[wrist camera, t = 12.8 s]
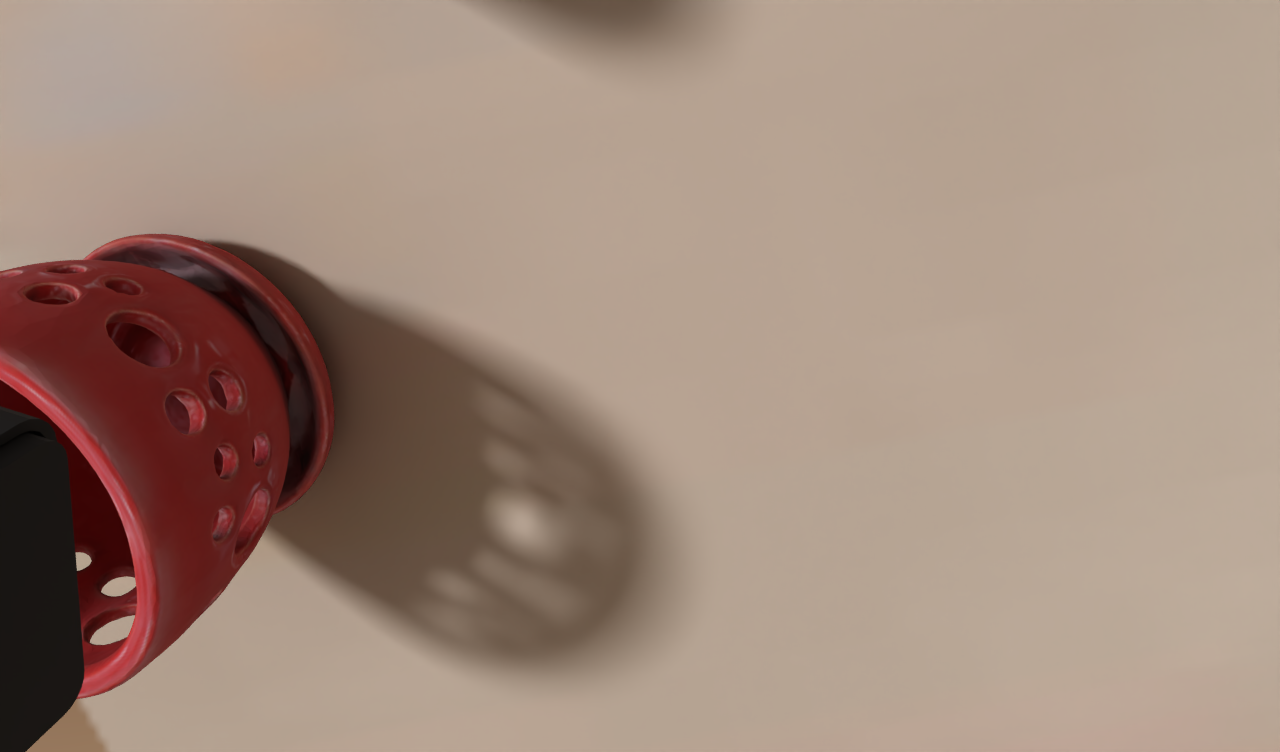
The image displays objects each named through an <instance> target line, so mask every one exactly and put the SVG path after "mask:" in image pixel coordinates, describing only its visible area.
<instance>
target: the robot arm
mask: <svg viewBox="0 0 1280 752" xmlns="http://www.w3.org/2000/svg"><path fill="white" fill-rule="evenodd" d="M84 672H85V668H84V656H83V643H82V631H81V618H80V605H79V593H78V580H77V568H76V555H75V542H74V530H73V517H72V504H71V492H70V479H69V467H68V457H67V453H66V450H65V448H64V447H63V446H62V444H60V443H58V442H57V438H56V434H55V431H54V430H53V428H52V427H51V425H50V424H49V423H48V422H46V421H44V420H42V419H39V418H36V417H33V416H30V415H26V414H23V413H20V412H17V411H14V410H11V409H7V408H4V407H1V406H0V752H25V751H27V750H28V749H29V748H30V747H31V746H32V745H33V744H34V743H35V742H36V741H37V740H38V739H39V738H40V737H41V736H42V735H44V733H46V731H48V730H49V729H50V728H51V727H52V726H53V725H54V724H55V723H56V722H57V721H58V720H59V719H60V718H61V717H62V716H63V715H65V713H66V712H67V711H68V710H69V709H70V708H71V706H72V705H73V703H74V702H75V700H76V699H77V697H78V695H79V692H80V690H81V688H82V684H83V681H84Z"/></svg>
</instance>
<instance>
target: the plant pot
mask: <svg viewBox="0 0 1280 752" xmlns="http://www.w3.org/2000/svg"><path fill="white" fill-rule="evenodd" d="M0 406H1V407H4V408H7V409H11V410H14V411H17V412H20V413H23V414H26V415H30V416H33V417H36V418H39V419H42V420H44V421H46V422H48V423H49V424H50V425H51V427H52V428H53V430H54V431H55V434H56V438H57V442H58V443H60V444H62V446H63V447H64V448H65V450H66V453H67V457H68V467H69V479H70V492H71V504H72V517H73V530H74V542H75V552H83V553H86V554H87V555H89V556H90V558H91V560H92V562H91V564H90V565H89V566H88V567H86V568H85V569H83V570H80V571H77V580H78V593H79V605H80V618H81V631H82V643H83V656H84V668H85V672H84V681H83V684H82V688H81V690H80V692H79V695H78V697H77V699H80V698H87V697H91V696H95V695H99V694H102V693H105V692H107V691H110V690H112V689H114V688H115V687H117V686H120V685H122V684H123V683H125V682H126V681H128V680H129V679H131V678H132V677H133V676H135V675H136V674H137V673H138V672H140V671H141V670H142V669H143V668H144V667H146V666H147V665H148V664H149V663H150V662H152V661H153V660H154V659H155V658H156V657H158V656H159V655H160V654H161V653H162V652H164V651H165V650H166V649H167V648H168V647H169V646H170V645H171V644H172V643H174V642H175V641H176V640H177V639H178V638H179V637H180V636H181V635H182V634H183V633H184V632H185V631H186V630H187V629H188V628H189V627H190V626H191V625H192V623H193V622H194V621H195V620H196V619H197V618H198V617H199V616H200V615H201V614H202V613H203V612H204V611H205V610H206V609H207V608H208V607H209V606H210V605H211V604H212V603H213V602H214V601H215V600H216V599H217V598H218V597H219V596H220V595H221V593H222V592H223V591H224V590H225V588H226V587H227V586H228V584H229V583H230V581H231V580H232V578H233V577H234V576H235V574H236V573H237V572H238V570H239V569H240V568H241V566H242V565H243V564H244V562H245V561H246V560H247V559H248V557H249V556H250V554H251V553H252V551H253V550H254V548H255V547H256V545H257V543H258V542H259V540H260V538H261V536H262V534H263V533H264V531H265V529H266V527H267V525H268V523H269V521H270V519H271V517H272V515H273V514H276V513H278V512H280V511H282V510H284V509H286V508H287V507H289V506H290V505H292V504H293V503H294V502H296V501H297V500H298V499H300V498H301V497H302V496H303V495H304V494H305V493H306V492H307V491H308V489H309V488H310V487H311V486H312V484H313V483H314V482H315V480H316V478H317V477H318V475H319V473H320V472H321V470H322V468H323V466H324V464H325V461H326V459H327V456H328V453H329V450H330V447H331V443H332V438H333V431H334V404H333V396H332V390H331V385H330V380H329V376H328V372H327V369H326V366H325V363H324V360H323V358H322V355H321V353H320V350H319V348H318V346H317V344H316V342H315V340H314V338H313V336H312V334H311V332H310V330H309V329H308V327H307V326H306V324H305V322H304V321H303V319H302V318H301V316H300V314H299V313H298V312H297V311H296V310H295V308H294V307H293V306H292V304H291V303H290V302H289V301H288V300H287V298H286V297H285V296H284V295H283V294H282V293H281V292H280V291H279V290H278V289H277V288H276V287H275V286H274V285H273V284H272V283H271V282H270V281H269V280H268V279H267V278H265V277H264V276H263V275H262V274H260V273H259V272H258V271H257V270H255V269H254V268H253V267H251V266H250V265H248V264H247V263H245V262H244V261H242V260H241V259H239V258H238V257H236V256H234V255H232V254H230V253H229V252H227V251H225V250H223V249H220V248H218V247H215V246H213V245H211V244H208V243H206V242H203V241H200V240H196V239H193V238H188V237H183V236H178V235H169V234H143V235H134V236H129V237H124V238H120V239H116V240H114V241H112V242H109V243H107V244H105V245H103V246H101V247H99V248H98V249H96V250H95V251H93V252H92V253H90V254H89V255H88V256H87V257H86V258H84V259H83V260H67V261H55V262H46V263H39V264H32V265H27V266H22V267H17V268H13V269H9V270H5V271H0ZM124 576H129V577H134V578H135V580H136V587H135V588H133V589H132V590H131V591H129V592H128V593H126V594H124V595H122V596H117V597H111V596H107V595H105V594H103V593H101V590H102V588H103V586H104V585H105V584H107V583H108V582H109V581H111V580H112V579H115V578H118V577H124ZM131 615H135V619H134V622H133V625H132V628H131V631H130V633H129V635H128V637H127V638H124V639H122V640H120V641H117V642H114V643H111V644H107V645H94V644H91V643H90V639H91V637H92V635H93V634H94V633H95V632H96V631H97V630H98V629H100V628H101V627H103V626H104V625H106V624H107V623H109V622H111V621H114V620H117V619H120V618H122V617H126V616H131Z"/></svg>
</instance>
